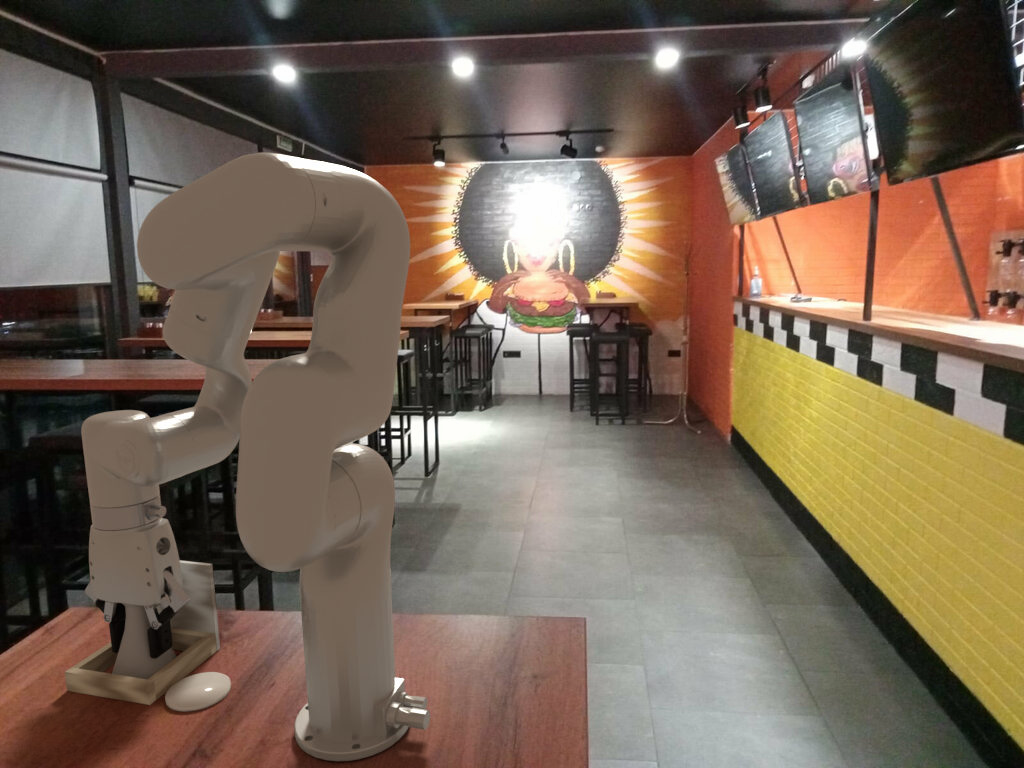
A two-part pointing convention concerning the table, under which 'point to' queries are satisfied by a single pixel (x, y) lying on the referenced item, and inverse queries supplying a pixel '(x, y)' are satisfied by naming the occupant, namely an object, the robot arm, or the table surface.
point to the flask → (138, 647)
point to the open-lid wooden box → (189, 634)
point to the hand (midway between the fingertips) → (142, 648)
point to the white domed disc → (198, 691)
